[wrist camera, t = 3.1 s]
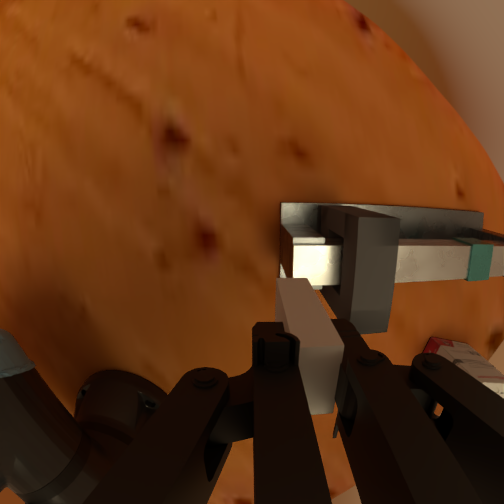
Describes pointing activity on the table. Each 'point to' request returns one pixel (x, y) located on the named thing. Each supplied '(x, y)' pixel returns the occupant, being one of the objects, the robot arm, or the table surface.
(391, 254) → the ring collar
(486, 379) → the ink box
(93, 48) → the table surface
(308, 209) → the pipe rail
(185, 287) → the table surface
